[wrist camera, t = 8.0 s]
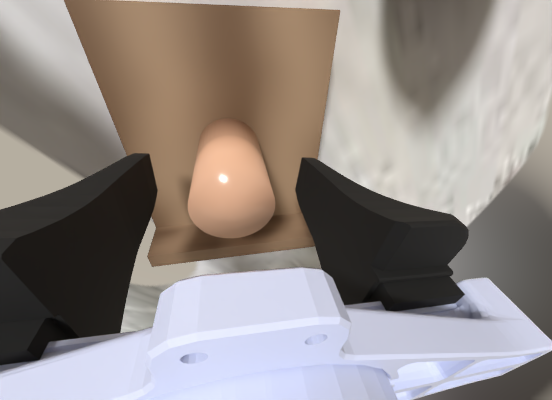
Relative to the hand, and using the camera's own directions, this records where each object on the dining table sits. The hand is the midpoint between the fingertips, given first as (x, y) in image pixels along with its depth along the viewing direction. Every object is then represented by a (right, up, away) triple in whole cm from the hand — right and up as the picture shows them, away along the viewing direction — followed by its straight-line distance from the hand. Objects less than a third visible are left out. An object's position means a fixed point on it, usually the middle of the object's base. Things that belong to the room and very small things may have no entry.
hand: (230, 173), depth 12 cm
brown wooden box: (-1, +3, +4) cm, 5 cm away
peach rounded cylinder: (0, +2, +2) cm, 3 cm away
